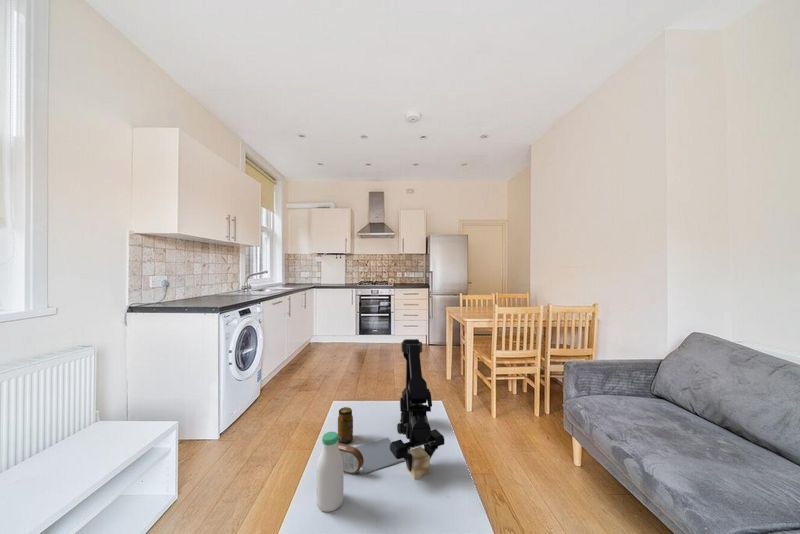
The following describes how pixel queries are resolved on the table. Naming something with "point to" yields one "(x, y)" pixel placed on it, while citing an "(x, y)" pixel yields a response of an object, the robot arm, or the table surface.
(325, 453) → the milk bottle
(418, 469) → the oak cube
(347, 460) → the tin
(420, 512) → the table surface
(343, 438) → the condiment
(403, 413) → the robot arm
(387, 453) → the slate mat
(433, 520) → the table surface
